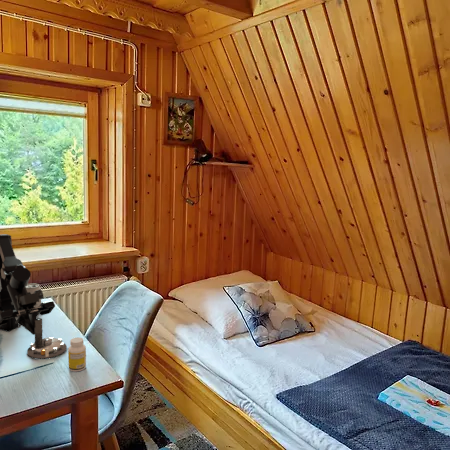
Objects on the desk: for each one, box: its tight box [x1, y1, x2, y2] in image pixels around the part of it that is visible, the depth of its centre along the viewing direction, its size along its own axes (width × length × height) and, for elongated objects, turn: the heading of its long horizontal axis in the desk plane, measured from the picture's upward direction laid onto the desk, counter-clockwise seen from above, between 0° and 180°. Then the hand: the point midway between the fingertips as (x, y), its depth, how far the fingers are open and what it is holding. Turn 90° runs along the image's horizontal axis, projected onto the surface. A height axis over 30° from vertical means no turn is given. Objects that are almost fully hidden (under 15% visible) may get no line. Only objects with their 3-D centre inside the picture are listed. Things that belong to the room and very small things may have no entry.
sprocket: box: [29, 317, 65, 355], centre depth 149 cm, size 11×11×12 cm
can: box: [26, 282, 42, 307], centre depth 184 cm, size 8×8×12 cm
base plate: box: [26, 341, 68, 360], centre depth 150 cm, size 13×13×4 cm
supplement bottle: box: [67, 337, 87, 373], centre depth 139 cm, size 5×5×10 cm
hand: (34, 334), depth 146 cm, fingers closed, pressing on sprocket
